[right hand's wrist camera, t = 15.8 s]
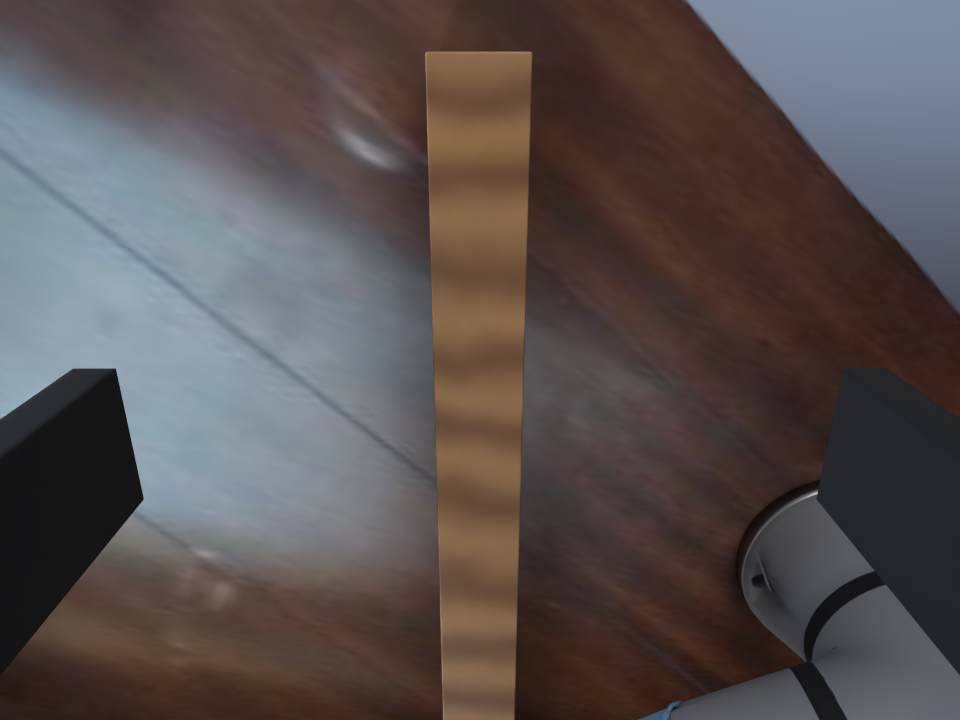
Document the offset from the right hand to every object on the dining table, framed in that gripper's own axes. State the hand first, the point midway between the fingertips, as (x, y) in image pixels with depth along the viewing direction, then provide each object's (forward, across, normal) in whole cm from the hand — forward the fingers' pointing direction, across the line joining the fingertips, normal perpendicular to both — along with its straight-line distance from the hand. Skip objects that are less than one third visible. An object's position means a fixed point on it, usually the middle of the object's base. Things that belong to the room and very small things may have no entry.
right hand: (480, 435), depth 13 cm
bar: (+35, 0, -30) cm, 46 cm away
